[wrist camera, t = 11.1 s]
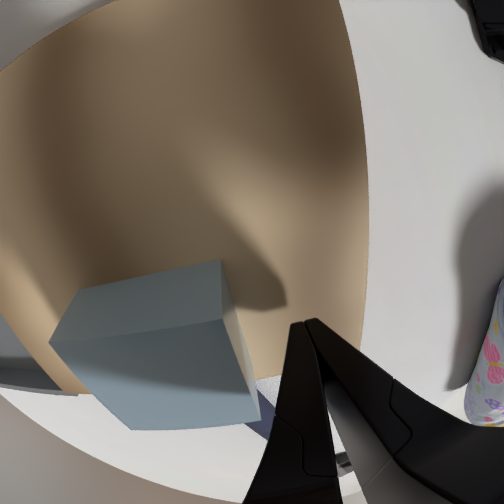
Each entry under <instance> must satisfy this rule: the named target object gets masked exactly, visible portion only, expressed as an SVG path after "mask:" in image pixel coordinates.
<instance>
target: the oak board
mask: <svg viewBox="0 0 504 504" xmlns="http://www.w3.org/2000/svg"><path fill="white" fill-rule="evenodd" d="M368 249H369V194H368V171H367V156H366V144H365V133H364V124H363V115H362V108H361V101H360V94H359V87H358V81H357V76H356V70H355V65H354V60H353V55H352V50H351V46H350V41H349V37H348V33H347V29H346V25H345V21H344V17H343V14H342V10H341V7H340V3H339V0H115V1H113V2H111V3H108V4H106V5H104V6H102V7H99V8H97V9H95V10H93V11H91V12H89V13H87V14H85V15H83V16H81V17H79V18H77V19H76V20H74V21H72V22H70V23H68V24H67V25H65V26H63V27H61V28H60V29H58V30H56V31H55V32H53V33H52V34H50V35H48V36H47V37H45V38H44V39H42V40H41V41H39V42H38V43H36V44H35V45H34V46H32V47H31V48H29V49H28V50H27V51H25V52H24V53H23V54H21V55H20V56H19V57H17V58H16V59H15V60H14V61H12V62H11V63H10V64H9V65H7V66H6V67H5V68H4V69H3V70H1V71H0V313H1V314H2V316H3V317H4V319H5V320H6V322H7V323H8V325H9V326H10V328H11V329H12V330H13V332H14V333H15V335H16V336H17V337H18V339H19V340H20V341H21V343H22V344H23V345H24V347H25V348H26V349H27V350H28V352H29V353H30V354H31V355H32V357H33V358H34V359H35V360H36V362H37V363H38V364H39V365H40V366H41V367H42V369H43V370H44V371H45V372H46V373H47V374H48V375H49V376H50V378H51V379H52V380H53V381H54V382H55V383H56V384H57V385H58V386H59V387H60V388H61V389H62V390H63V391H64V392H65V393H75V394H92V393H91V392H90V391H89V390H88V389H87V388H86V387H85V386H84V385H83V384H82V383H81V381H80V380H79V379H78V378H77V377H76V376H75V375H74V374H73V372H72V371H71V370H70V369H69V368H68V367H67V365H66V364H65V363H64V362H63V361H62V359H61V358H60V357H59V356H58V354H57V353H56V352H55V351H54V349H53V348H52V347H51V346H50V344H49V343H48V342H49V340H50V338H51V336H52V334H53V333H54V331H55V329H56V327H57V325H58V323H59V322H60V320H61V318H62V316H63V315H64V313H65V311H66V309H67V308H68V306H69V304H70V303H71V301H72V299H73V298H74V296H75V294H76V293H77V291H78V290H80V289H85V288H90V287H94V286H99V285H103V284H108V283H112V282H117V281H122V280H126V279H131V278H135V277H140V276H144V275H149V274H154V273H158V272H163V271H167V270H172V269H177V268H181V267H186V266H190V265H195V264H199V263H204V262H209V261H213V260H218V259H221V261H222V265H223V268H224V272H225V275H226V279H227V282H228V286H229V289H230V292H231V296H232V299H233V303H234V306H235V309H236V313H237V316H238V319H239V322H240V326H241V329H242V332H243V335H244V339H245V342H246V345H247V348H248V351H249V355H250V358H251V361H252V364H253V368H254V375H255V380H258V379H263V378H268V377H272V376H277V375H282V370H283V364H284V359H285V353H286V347H287V341H288V334H289V328H290V324H291V323H295V322H299V321H303V322H304V321H305V320H307V319H311V318H314V317H316V318H318V319H319V320H321V321H322V322H323V323H324V324H326V325H327V326H328V327H329V328H331V329H332V330H333V331H335V332H336V333H337V334H338V335H340V336H341V337H342V338H343V339H345V340H346V341H347V342H349V343H350V344H351V345H352V346H354V347H355V348H356V349H358V350H359V351H360V345H361V337H362V329H363V320H364V311H365V300H366V288H367V272H368Z"/></svg>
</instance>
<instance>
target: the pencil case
mask: <svg viewBox="0 0 504 504" xmlns="http://www.w3.org/2000/svg"><path fill="white" fill-rule="evenodd" d="M464 410H465V414H466V416H467V418H468V419H469V421H470V422H471V423H472V424H473V425H477V426H489V427H502V426H504V278H503V279H502V281H501V283H500V285H499V289H498V292H497V296H496V300H495V304H494V309H493V314H492V318H491V322H490V326H489V329H488V331H487V334H486V337H485V340H484V342H483V345H482V348H481V351H480V353H479V357H478V360H477V364H476V366H475V369H474V371H473V373H472V376H471V378H470V380H469V382H468V385H467V388H466V392H465V398H464Z"/></svg>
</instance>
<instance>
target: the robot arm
mask: <svg viewBox="0 0 504 504" xmlns="http://www.w3.org/2000/svg"><path fill="white" fill-rule="evenodd" d="M470 2H471V5H472V8H473V11H474V14H475V18H476V21H477V24H478V28H479V32H480V35H481V39H482V44H483V48H484V51H485V53H486V55H487V56H488V57H489V58H491V59H493V60H496V61H498V62H500V63H502V64H504V0H470ZM327 408H328V409H327ZM328 410H329V413H330V415H331V417H332V420H333V422H334V424H335V427H336V429H337V431H338V434H339V436H340V439H341V441H342V443H343V446H344V448H345V450H346V453H347V455H348V458H349V460H350V462H351V465H352V467H353V469H354V472H355V474H356V477H357V479H358V481H359V484H360V486H361V488H362V491H363V494H364V496H365V498H366V501H367V503H368V504H504V427H489V426H477V425H473V424H469V423H467V422H464V421H462V420H460V419H458V418H457V417H455V416H453V415H451V414H449V413H448V412H446V411H444V410H442V409H440V408H439V407H437V406H435V405H433V404H431V403H430V402H428V401H426V400H425V399H423V398H422V397H420V396H418V395H417V394H415V393H414V392H412V391H411V390H410V389H408V388H407V387H405V386H404V385H403V384H401V383H400V382H399V381H398V380H396V379H393V377H392V376H391V375H390V374H388V373H387V372H386V371H385V370H383V369H382V368H381V367H379V366H378V365H377V364H376V363H374V362H373V361H372V360H370V359H369V358H368V357H367V356H365V355H364V354H363V353H361V352H360V351H359V350H358V349H356V348H355V347H354V346H352V345H351V344H350V343H349V342H347V341H346V340H345V339H343V338H342V337H341V336H340V335H338V334H337V333H336V332H335V331H333V330H332V329H331V328H329V327H328V326H327V325H326V324H324V323H323V322H322V321H321V320H319V319H318V318H316V317H314V318H311V319H307V320H305V321H304V322H303V321H299V322H295V323H291V324H290V328H289V334H288V341H287V347H286V353H285V359H284V364H283V370H282V376H281V381H280V387H279V392H278V397H277V403H276V408H275V413H274V415H275V416H274V417H273V422H272V426H271V430H270V434H269V438H268V442H267V445H266V448H265V451H264V454H263V457H262V459H261V462H260V464H259V467H258V469H257V472H256V474H255V476H254V479H253V481H252V483H251V486H250V488H249V490H248V492H247V494H246V497H245V499H244V500H243V502H242V504H343V502H342V497H341V491H340V485H339V479H338V471H337V464H336V458H335V451H334V445H333V439H332V433H331V427H330V421H329V415H328Z"/></svg>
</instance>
